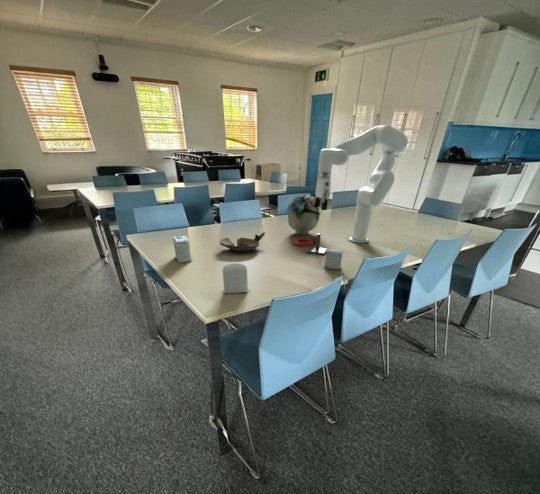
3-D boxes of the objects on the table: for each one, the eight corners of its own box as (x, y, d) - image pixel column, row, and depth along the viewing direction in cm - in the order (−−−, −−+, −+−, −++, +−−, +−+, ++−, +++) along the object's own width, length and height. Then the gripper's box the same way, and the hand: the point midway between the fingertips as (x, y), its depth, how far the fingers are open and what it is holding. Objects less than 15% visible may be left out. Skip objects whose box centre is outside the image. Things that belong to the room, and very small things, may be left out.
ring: (297, 247, 192) (298, 240, 189) (291, 242, 201) (291, 235, 199) (321, 245, 196) (322, 239, 193) (314, 240, 205) (315, 234, 203)
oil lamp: (215, 246, 189) (214, 233, 184) (262, 243, 198) (262, 230, 193) (224, 257, 172) (223, 243, 167) (274, 253, 181) (275, 239, 176)
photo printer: (224, 294, 131) (222, 265, 124) (223, 290, 134) (221, 262, 127) (248, 293, 133) (247, 264, 125) (247, 289, 136) (246, 261, 129)
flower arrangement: (321, 238, 211) (326, 198, 196) (285, 237, 211) (287, 197, 196) (317, 229, 231) (321, 192, 217) (284, 228, 231) (286, 191, 217)
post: (310, 248, 190) (312, 231, 184) (326, 250, 187) (329, 232, 181) (306, 253, 182) (308, 234, 176) (323, 255, 179) (325, 236, 173)
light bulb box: (175, 256, 171) (172, 236, 164) (187, 255, 173) (185, 235, 167) (178, 262, 163) (175, 241, 156) (191, 261, 165) (189, 240, 159)
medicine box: (340, 267, 162) (343, 250, 157) (339, 270, 159) (341, 253, 154) (325, 265, 164) (327, 248, 159) (324, 268, 161) (326, 251, 156)
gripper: (337, 176, 170) (332, 210, 180) (323, 174, 184) (319, 205, 193) (325, 176, 168) (321, 211, 178) (311, 173, 181) (308, 205, 191)
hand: (320, 208), depth 186 cm, fingers open, 9 cm apart
